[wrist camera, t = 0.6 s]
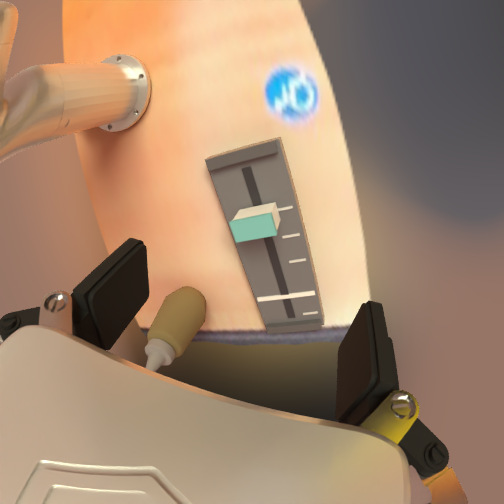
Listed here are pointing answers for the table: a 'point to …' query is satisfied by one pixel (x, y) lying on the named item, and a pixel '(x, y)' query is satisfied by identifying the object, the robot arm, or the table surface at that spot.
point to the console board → (274, 247)
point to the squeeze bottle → (174, 326)
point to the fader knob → (255, 222)
